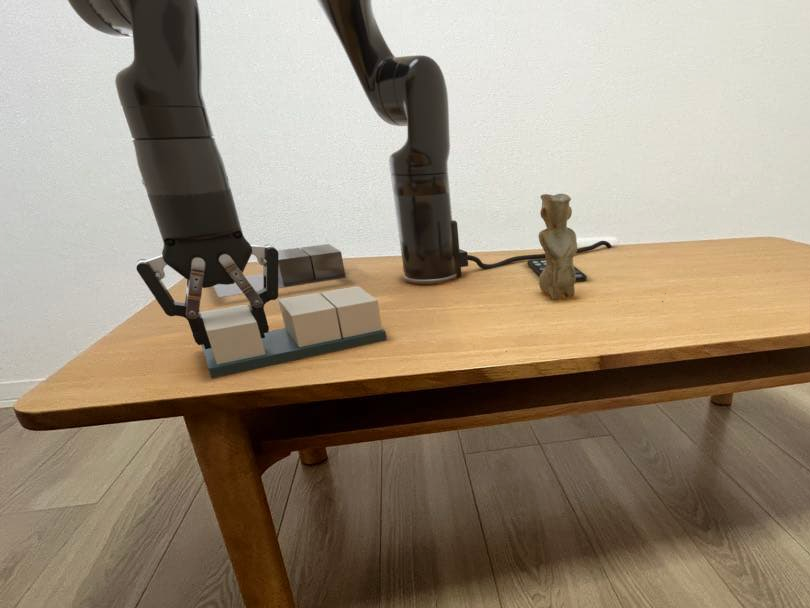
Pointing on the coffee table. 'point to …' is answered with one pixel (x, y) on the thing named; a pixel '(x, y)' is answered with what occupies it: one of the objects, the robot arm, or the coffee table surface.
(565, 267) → the sculpture
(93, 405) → the coffee table surface
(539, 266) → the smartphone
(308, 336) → the teal base board
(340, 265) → the grey board with blocks
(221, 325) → the beige block
